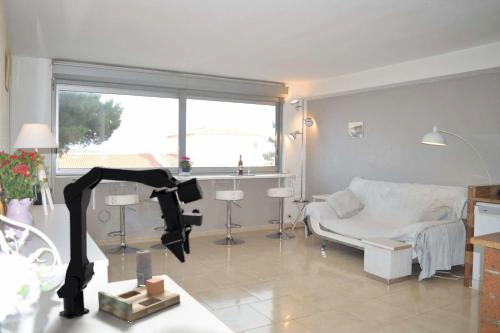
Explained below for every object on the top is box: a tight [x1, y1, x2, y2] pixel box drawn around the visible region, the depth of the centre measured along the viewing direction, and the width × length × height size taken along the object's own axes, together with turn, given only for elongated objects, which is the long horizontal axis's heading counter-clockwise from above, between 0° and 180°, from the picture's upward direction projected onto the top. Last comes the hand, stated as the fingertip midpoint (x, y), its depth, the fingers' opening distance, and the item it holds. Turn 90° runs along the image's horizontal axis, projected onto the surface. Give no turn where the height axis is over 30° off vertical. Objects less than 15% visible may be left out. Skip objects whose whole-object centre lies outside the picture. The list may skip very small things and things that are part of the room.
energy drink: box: [135, 249, 153, 286], centre depth 143 cm, size 5×5×12 cm
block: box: [146, 276, 165, 295], centre depth 128 cm, size 4×4×4 cm
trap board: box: [97, 285, 181, 323], centre depth 123 cm, size 17×18×5 cm
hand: (186, 257), depth 119 cm, fingers open, 9 cm apart
